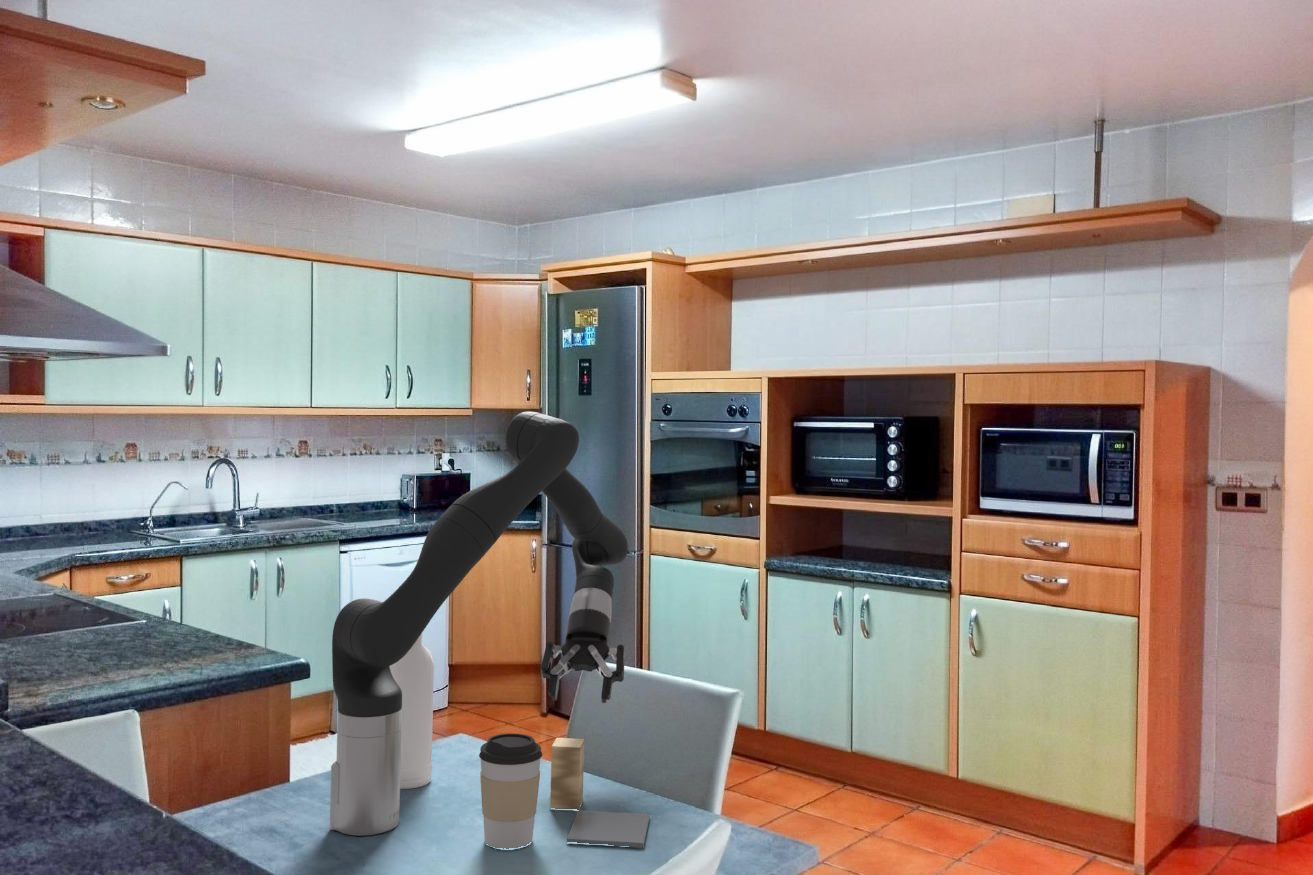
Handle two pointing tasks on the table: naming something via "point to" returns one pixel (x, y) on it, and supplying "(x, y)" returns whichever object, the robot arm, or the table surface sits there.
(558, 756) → the oak block
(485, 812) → the coffee cup
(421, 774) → the bottle
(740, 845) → the table surface
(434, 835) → the table surface
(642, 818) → the slate coaster
